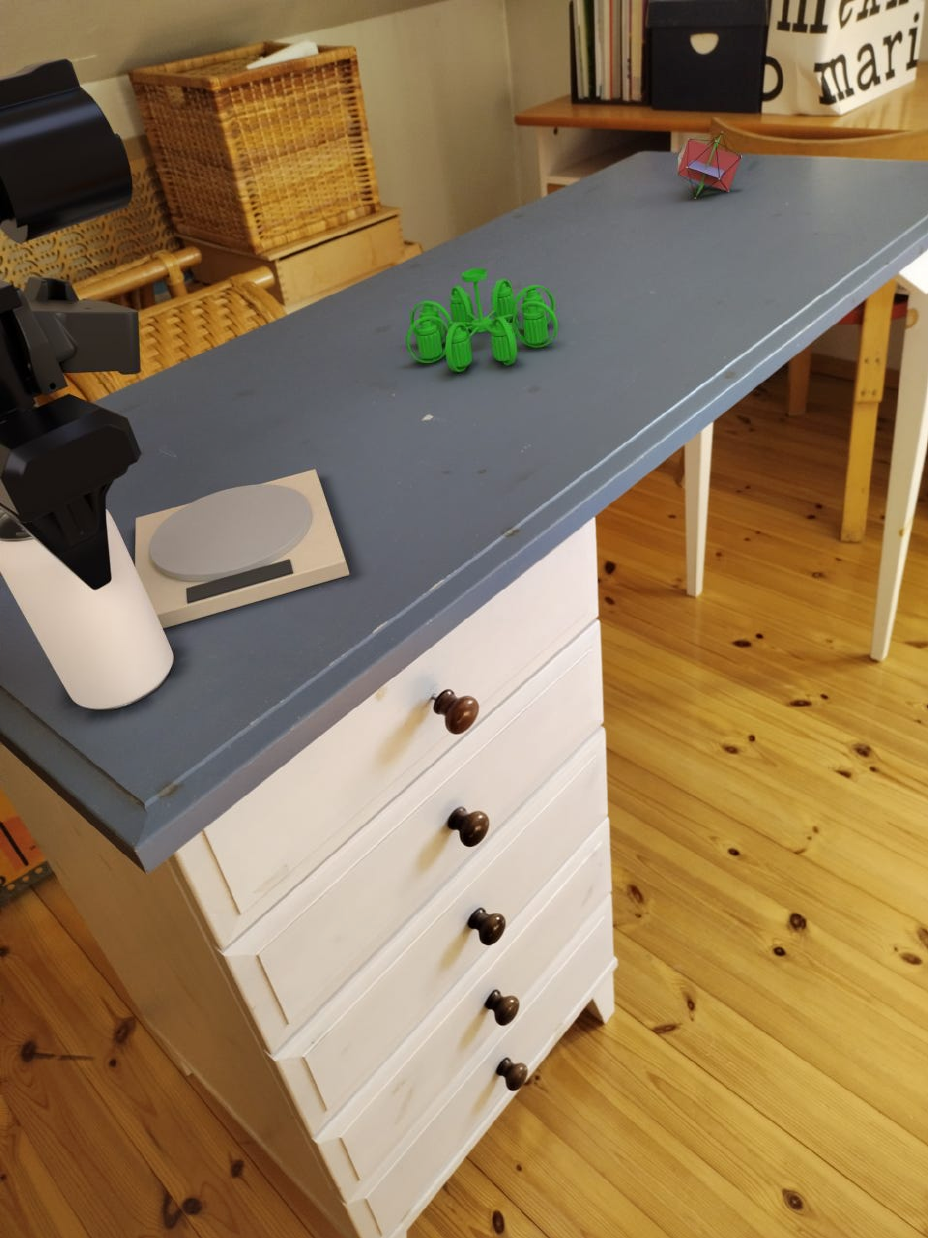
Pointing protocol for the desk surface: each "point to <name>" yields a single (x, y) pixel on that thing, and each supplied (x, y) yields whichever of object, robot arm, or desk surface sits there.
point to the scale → (237, 548)
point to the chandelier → (481, 323)
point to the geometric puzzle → (708, 164)
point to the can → (88, 621)
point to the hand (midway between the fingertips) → (63, 559)
